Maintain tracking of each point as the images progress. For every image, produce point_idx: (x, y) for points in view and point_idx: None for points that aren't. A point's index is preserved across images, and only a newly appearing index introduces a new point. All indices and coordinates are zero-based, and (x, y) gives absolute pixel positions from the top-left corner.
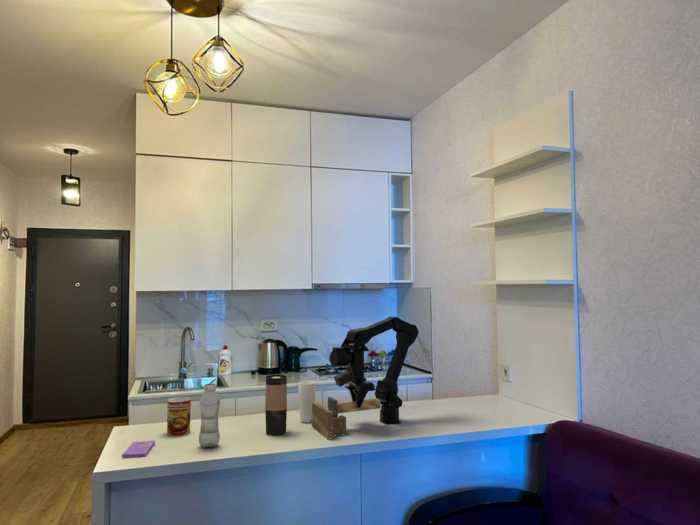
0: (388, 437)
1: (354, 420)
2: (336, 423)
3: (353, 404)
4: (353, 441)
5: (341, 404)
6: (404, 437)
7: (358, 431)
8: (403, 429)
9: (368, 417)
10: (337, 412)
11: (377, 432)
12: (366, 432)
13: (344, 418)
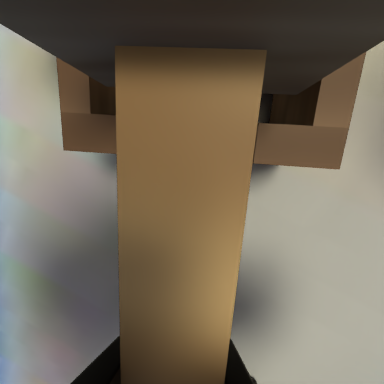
0: (27, 283)
1: (330, 300)
2: None
3: (124, 317)
4: (17, 131)
5: (125, 162)
6: (11, 327)
7: None
8: None
9: (334, 373)
10: (93, 78)
11: (102, 284)
12: None
13: (67, 134)
